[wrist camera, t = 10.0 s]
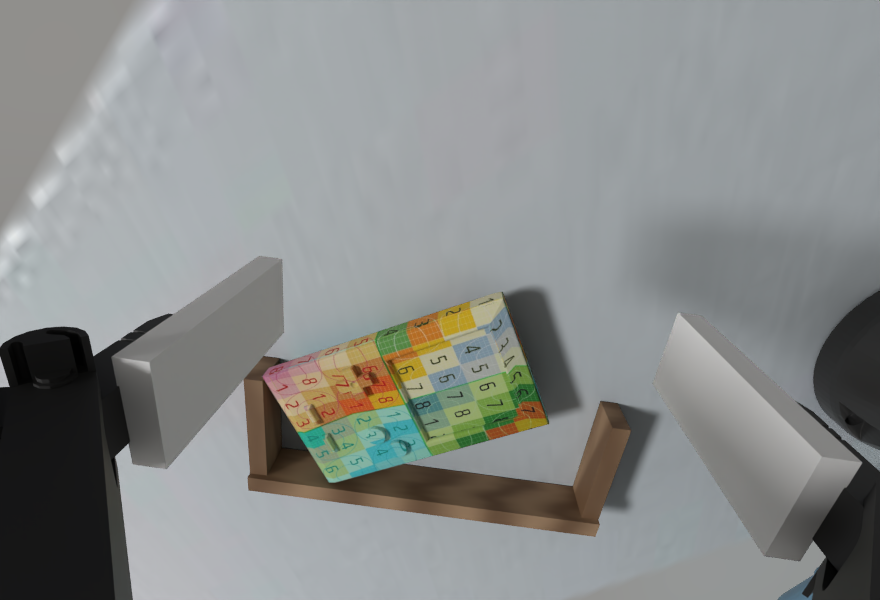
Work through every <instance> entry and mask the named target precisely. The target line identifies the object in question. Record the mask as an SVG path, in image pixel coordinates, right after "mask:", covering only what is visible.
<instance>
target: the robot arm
mask: <svg viewBox="0 0 880 600" xmlns="http://www.w3.org/2000/svg"><path fill="white" fill-rule="evenodd" d="M283 333H284V317H283V275H282V259H279V258H271V257H264V256H259V257H257V258H256V259H254V260H253V261H251V262H250V263H248V264H247V265H245V266H244V267H242V268H241V269H239V270H238V271H237V272H235V273H234V274H232V275H231V276H229V277H228V278H226V279H225V280H223V281H222V282H220V283H219V284H217V285H216V286H215V287H213V288H212V289H210V290H209V291H207V292H206V293H204V294H203V295H201V296H200V297H198V298H197V299H195V300H194V301H193V302H191V303H190V304H188V305H187V306H185V307H184V308H182V309H181V310H179V311H178V312H176V313H175V314H166V315H163V316H161V317H158V318H155V319H152V320H149V321H147V322H146V323H144V324H143V325H141V326H140V327H138V328H136V329H135V330H134V332H133V333H132V332H130V333H129V334H127V335H126V336H124V337H123V338H121V341H120V340H118V341H116V342H115V343H113V344H112V345H110V346H109V347H107V348H106V349H104V350H103V351H101V352H99V353H98V354H96V355H95V356H93V354H92V349H91V344H90V340H89V336H88V334H87V333H86V331H84V330H81V329H79V328H74V327H51V328H43V329H39V330H34V331H29V332H26V333H24V334H21V335H18V336H15V337H13V338H11V339H10V340H8V341H6V342H5V343H3V344H2V346H1V347H0V357H1V360H2V363H3V367H4V370H5V373H6V376H7V379H8V383H9V386H10V387H0V600H133V598H132V589H131V581H130V572H129V563H128V555H127V546H126V537H125V528H124V520H123V511H122V502H121V494H120V485H119V476H118V468H117V463H116V459H115V456H116V455H117V454H118V453H119V452H120V451H121V450H122V449H123V448H124V447H125V446H126V445H127V444H128V443H129V448H130V453H131V458H132V463H133V464H135V465H142V466H149V467H155V468H162V469H167V468H168V467H169V466H170V465H171V463H172V462H173V461H174V460H175V459H176V458H177V456H178V455H179V454H180V453H181V452H182V451H183V449H184V448H185V447H186V446H187V445H188V444H189V442H190V441H191V440H192V439H193V438H194V437H195V435H196V434H197V433H198V432H199V431H200V430H201V428H202V427H203V426H204V425H205V424H206V423H207V421H208V420H209V419H210V418H211V417H212V416H213V414H214V413H215V412H216V411H217V410H218V409H219V407H220V406H221V405H222V404H223V403H224V402H225V400H226V399H227V398H228V397H229V396H230V395H231V393H232V392H233V391H234V390H235V389H236V388H237V386H238V385H239V384H240V383H241V382H242V381H243V379H244V378H245V377H246V376H247V375H248V374H249V372H250V371H251V370H252V369H253V368H254V367H255V365H256V364H257V363H258V362H259V361H260V360H261V358H262V357H263V356H264V355H265V354H266V353H267V351H268V350H269V349H270V348H271V347H272V346H273V344H274V343H275V342H276V341H277V340H278V339H279V337H280V336H281V335H282V334H283ZM813 383H814V391H815V395H816V398H817V400H818V403H819V404H820V406H821V408H822V409H823V411H824V412H825V413H826V414H827V415H828V416H829V417H830V418H831V419H832V420H834V421H835V422H836V423H837V424H838V425H839V426H841V427H842V428H843V429H844V430H845V431H846V432H847V433H849V434H850V435H851V436H853V437H854V438H856V439H858V440H859V441H861V442H863V443H865V444H867V445H869V446H871V447H873V448H876V449H878V450H880V291H879V292H877V293H875V294H874V295H872V296H870V297H869V298H867V299H866V300H865V301H863V302H862V303H860V304H859V305H858V306H857V307H855V308H854V309H853V310H852V311H851V312H850V313H849V314H848V315H846V316H845V317H844V318H843V319H842V320H841V322H840V323H839V324H838V325H837V326H836V327H835V329H834V330H833V331H832V332H831V334H830V335H829V337H828V338H827V340H826V341H825V343H824V345H823V347H822V349H821V351H820V353H819V355H818V358H817V361H816V364H815V369H814V377H813ZM653 385H654V387H655V388H656V390H657V391H658V393H659V394H660V396H661V397H662V399H663V400H664V402H665V404H666V405H667V407H668V408H669V410H670V411H671V413H672V414H673V416H674V417H675V419H676V421H677V422H678V424H679V425H680V427H681V428H682V430H683V431H684V433H685V434H686V436H687V438H688V439H689V441H690V442H691V444H692V445H693V447H694V448H695V450H696V452H697V453H698V455H699V456H700V458H701V459H702V461H703V462H704V464H705V465H706V467H707V469H708V470H709V472H710V473H711V475H712V476H713V478H714V479H715V481H716V482H717V484H718V486H719V487H720V489H721V490H722V492H723V493H724V495H725V496H726V498H727V499H728V501H729V503H730V504H731V506H732V507H733V509H734V510H735V512H736V513H737V515H738V516H739V518H740V520H741V521H742V523H743V524H744V526H745V527H746V529H747V530H748V532H749V533H750V535H751V537H752V538H753V540H754V541H755V543H756V544H757V546H758V547H759V549H760V551H761V552H762V553H763V555H764V556H767V557H775V558H781V559H788V560H794V561H800V560H801V559H802V557H803V556H804V554H805V553H806V551H807V549H808V548H809V546H810V545H811V543H812V542H813V541H814V542H815V543H816V544H817V546H818V547H819V548H820V549H821V551H822V552H823V553H824V555H825V556H826V558H825V559H824V561H823V562H822V564H821V565H820V567H818V568H817V569H816V570H815V572H814V575H813V576H811V577H809V578H808V579H806V580H805V581H803V582H801V583H800V584H798V585H797V586H795V587H793V588H792V589H790V590H789V591H787V592H785V593H784V594H783V595H781V596H780V597H779V598H778V600H880V471H879V470H877V469H876V468H875V467H874V466H873V465H872V464H871V463H870V462H868V461H867V460H866V459H865V458H864V457H863V456H862V455H861V454H860V453H858V452H857V451H856V450H855V449H854V448H853V447H852V446H851V445H849V444H848V443H847V442H846V441H845V440H842V439H841V438H842V437H841V436H839V435H838V434H837V433H836V432H835V431H834V430H833V429H831V428H829V427H828V425H827V424H826V423H825V422H824V421H823V420H822V419H820V418H819V417H818V416H817V415H816V414H815V413H814V412H813V411H811V410H809V409H808V408H806V407H804V406H803V405H801V404H800V403H798V402H796V401H795V400H793V399H792V398H791V397H790V396H789V395H788V394H787V393H786V392H785V391H784V390H782V389H781V388H780V387H779V386H778V385H777V384H776V383H775V382H774V381H773V380H771V379H770V378H769V377H768V376H767V375H766V374H765V373H764V372H763V371H762V370H761V369H759V368H758V367H757V366H756V365H755V364H754V363H753V362H752V361H751V360H750V359H748V358H747V357H746V356H745V355H744V354H743V353H742V352H741V351H740V350H739V349H738V348H736V347H735V346H734V345H733V344H732V343H731V342H730V341H729V340H728V339H727V338H725V337H724V336H723V335H722V334H721V333H720V332H719V331H718V330H717V329H716V328H715V327H713V326H712V325H711V324H710V323H709V322H708V321H707V320H706V319H705V318H704V317H702V316H700V315H693V314H685V313H678V314H677V317H676V320H675V322H674V325H673V328H672V331H671V333H670V336H669V339H668V342H667V345H666V347H665V350H664V353H663V356H662V358H661V361H660V364H659V367H658V369H657V372H656V375H655V378H654V381H653Z"/></svg>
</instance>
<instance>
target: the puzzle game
mask: <svg viewBox="0 0 880 600" xmlns="http://www.w3.org/2000/svg"><path fill="white" fill-rule="evenodd" d="M262 378H263V379H264V381H265V383H266V384H267V386H268V387H269V389H270V391H271V392H272V394H273V395H274V397H275V398H276V400H277V402H278V403H279V405H280V406H281V408H282V410H283V411H284V413H285V414H286V416H287V417H288V419H289V421H290V422H291V424H292V425H293V427H294V429H295V430H296V432H297V433H298V435H299V436H300V438H301V440H302V441H303V443H304V444H305V446H306V448H307V449H308V451H309V452H310V454H311V455H312V457H313V459H314V460H315V462H316V463H317V465H318V467H319V468H320V470H321V471H322V473H323V474H324V476H325V478H326V479H327V481H328V482H333V483H335V482H339V481H343V480H346V479H350V478H354V477H357V476H361V475H365V474H368V473H372V472H375V471H379V470H383V469H386V468H390V467H394V466H397V465H401V464H405V463H408V462H412V461H416V460H419V459H423V458H426V457H430V456H434V455H437V454H441V453H445V452H448V451H452V450H456V449H459V448H463V447H467V446H470V445H474V444H477V443H481V442H485V441H488V440H492V439H496V438H499V437H503V436H507V435H510V434H514V433H518V432H521V431H525V430H528V429H532V428H536V427H539V426H543V425H547V424H549V420H548V416H547V413H546V411H545V408H544V405H543V402H542V400H541V397H540V394H539V391H538V389H537V386H536V383H535V380H534V377H533V375H532V372H531V369H530V366H529V364H528V361H527V358H526V355H525V353H524V350H523V347H522V344H521V342H520V339H519V336H518V333H517V330H516V328H515V325H514V322H513V319H512V317H511V314H510V311H509V308H508V306H507V303H506V300H505V297H504V295H503V292H498V293H494V294H491V295H488V296H485V297H482V298H479V299H476V300H473V301H470V302H467V303H464V304H461V305H458V306H454V307H451V308H448V309H445V310H442V311H439V312H436V313H433V314H430V315H427V316H424V317H421V318H418V319H415V320H412V321H409V322H406V323H403V324H400V325H397V326H394V327H391V328H388V329H385V330H382V331H379V332H376V333H373V334H370V335H367V336H364V337H361V338H358V339H354V340H351V341H348V342H345V343H342V344H339V345H336V346H333V347H330V348H327V349H324V350H321V351H318V352H315V353H312V354H309V355H306V356H303V357H300V358H297V359H294V360H291V361H288V362H285V363H282V364H279V365H276V366H273V367H270V368H268V369H267V370H266V371H265V373H264V374H263V375H262Z"/></svg>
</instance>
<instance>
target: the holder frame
mask: <svg viewBox="0 0 880 600" xmlns="http://www.w3.org/2000/svg"><path fill="white" fill-rule="evenodd" d="M276 365H279V358H272V357H265V356H263V357H262V358H261V360H260V361H259V362H258V363H257V364H256V365H255V367H254V368H253V369H252V370H251V371H250V372H249V374H248V375H247V376H246V377H245V378H244V390H245V404H246V419H247V433H248V448H249V463H250V475H249V476H248V489H249V490H250V491H258V492H265V493H273V494H280V495H288V496H295V497H303V498H310V499H317V500H325V501H332V502H340V503H347V504H355V505H362V506H370V507H377V508H385V509H392V510H400V511H407V512H415V513H422V514H430V515H437V516H445V517H452V518H460V519H467V520H474V521H482V522H489V523H497V524H504V525H512V526H519V527H527V528H534V529H542V530H549V531H557V532H564V533H572V534H579V535H587V536H594V537H595V536H596V533H597V531H598V528H599V525H600V524H599V521H598V519H599V516H600V514H601V511H602V508H603V505H604V503H605V500H606V497H607V495H608V492H609V489H610V487H611V484H612V481H613V478H614V476H615V473H616V470H617V468H618V465H619V462H620V460H621V457H622V454H623V451H624V449H625V446H626V443H627V441H628V438H629V435H630V433H631V429H630V427H629V425H628V423H627V421H626V419H625V417H624V415H623V413H622V411H621V409H620V407H619V405H618V403H610V402H603V401H600V404H599V407H598V411H597V414H596V417H595V420H594V423H593V426H592V429H591V432H590V435H589V438H588V441H587V444H586V448H585V451H584V454H583V457H582V460H581V463H580V466H579V469H578V472H577V475H576V478H575V481H574V485H573V487H572V486H564V485H557V484H549V483H542V482H534V481H527V480H519V479H512V478H504V477H497V476H489V475H482V474H474V473H467V472H459V471H452V470H444V469H437V468H429V467H422V466H414V465H407V464H401V465H397V466H394V467H390V468H386V469H383V470H379V471H375V472H372V473H368V474H365V475H361V476H357V477H354V478H350V479H346V480H343V481H339V482H335V483H333V482H328V481H327V479H326V478H325V476H324V474H323V473H322V471H321V470H320V468H319V467H318V465H317V463H316V462H315V460H314V459H313V457H312V455H311V454H310V452H309V451H302V450H295V449H287V448H282V433H281V406H280V405H279V403H278V402H277V400H276V398H275V397H274V395H273V394H272V392H271V391H270V389H269V387H268V386H267V384H266V383H265V381H264V379H263V378H262V375H263V374H264V373H265V371H266V370H267V369H268V368H270V367H273V366H276Z"/></svg>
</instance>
